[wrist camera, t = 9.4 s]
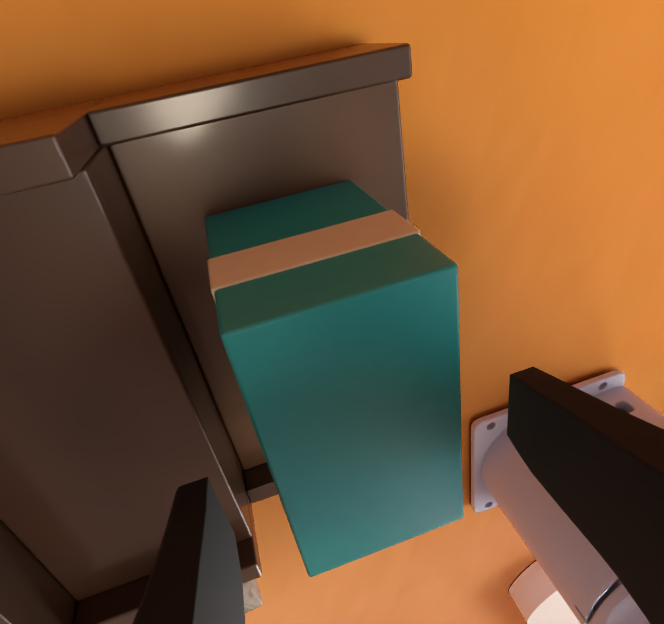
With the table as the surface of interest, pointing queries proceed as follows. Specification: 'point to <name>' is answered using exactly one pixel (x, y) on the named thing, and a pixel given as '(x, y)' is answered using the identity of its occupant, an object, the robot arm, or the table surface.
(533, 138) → the table surface
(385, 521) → the block
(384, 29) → the table surface
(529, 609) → the bracket
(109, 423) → the step shelf
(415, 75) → the table surface
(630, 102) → the table surface
